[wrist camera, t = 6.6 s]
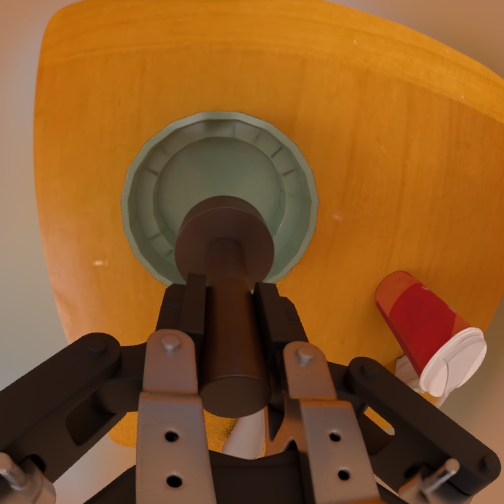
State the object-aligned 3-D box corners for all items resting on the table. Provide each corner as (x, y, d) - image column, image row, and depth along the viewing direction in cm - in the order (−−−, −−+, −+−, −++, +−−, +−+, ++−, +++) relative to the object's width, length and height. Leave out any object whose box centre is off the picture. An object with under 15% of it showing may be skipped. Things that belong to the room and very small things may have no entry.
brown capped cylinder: (161, 229, 17) (98, 380, 7) (235, 176, 16) (266, 282, 6) (214, 291, 19) (218, 456, 9) (283, 247, 18) (355, 397, 8)
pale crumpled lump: (452, 334, 44) (478, 330, 31) (456, 372, 41) (483, 380, 28) (375, 353, 49) (376, 356, 36) (379, 391, 46) (381, 407, 33)
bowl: (109, 180, 26) (85, 196, 20) (241, 82, 24) (248, 71, 18) (203, 292, 32) (201, 327, 26) (325, 214, 30) (348, 236, 24)
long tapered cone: (230, 389, 33) (225, 465, 39) (280, 383, 35) (263, 460, 41) (222, 360, 38) (219, 440, 44) (268, 357, 40) (255, 436, 46)
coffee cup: (414, 309, 37) (474, 382, 23) (363, 324, 37) (416, 410, 23) (423, 256, 33) (501, 324, 20) (368, 268, 33) (440, 353, 19)
